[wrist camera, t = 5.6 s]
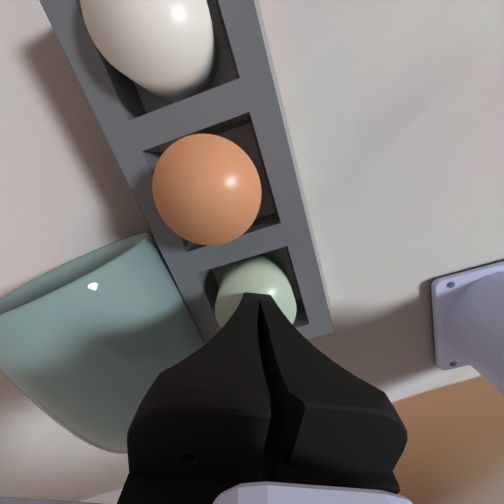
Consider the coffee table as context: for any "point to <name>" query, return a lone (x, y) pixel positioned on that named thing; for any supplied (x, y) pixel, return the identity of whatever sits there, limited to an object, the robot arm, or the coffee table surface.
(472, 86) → the coffee table surface
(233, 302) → the pale green egg
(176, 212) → the orange egg
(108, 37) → the white egg
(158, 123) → the gray compartment tray
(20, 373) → the cup
